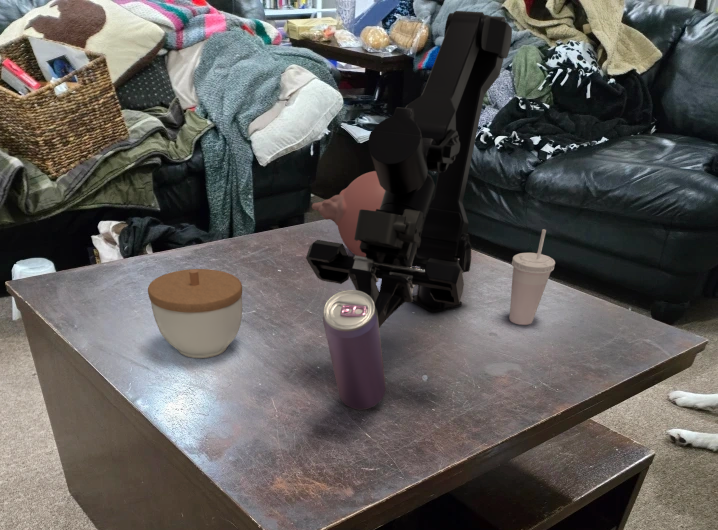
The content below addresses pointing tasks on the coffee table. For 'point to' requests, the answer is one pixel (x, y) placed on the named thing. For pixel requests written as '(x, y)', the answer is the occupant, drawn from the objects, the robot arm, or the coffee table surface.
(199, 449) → the coffee table surface
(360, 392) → the beverage can
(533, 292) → the smoothie
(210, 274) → the lidded bowl
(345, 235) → the balloon
